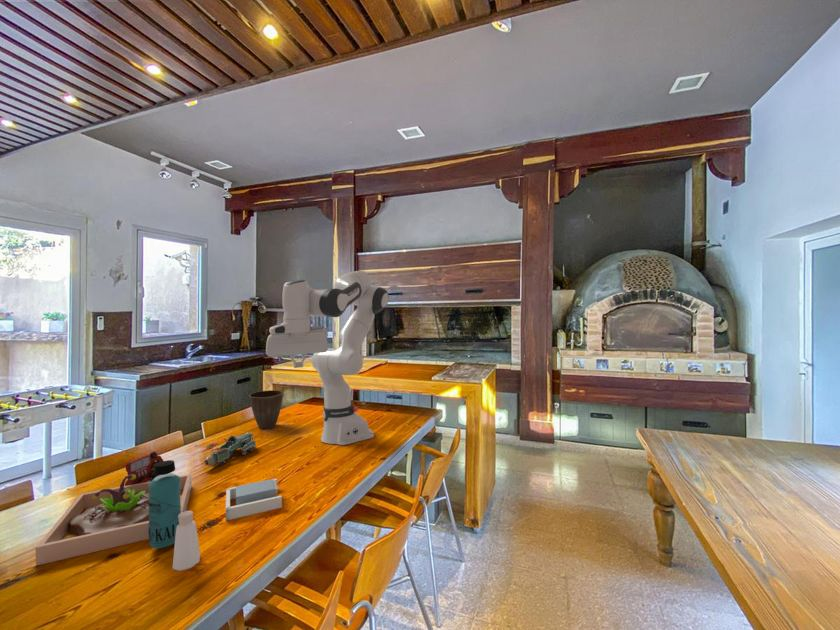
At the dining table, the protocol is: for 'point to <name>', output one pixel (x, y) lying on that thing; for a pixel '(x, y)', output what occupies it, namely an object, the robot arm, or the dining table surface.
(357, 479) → the dining table surface
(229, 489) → the bay
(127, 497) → the plant
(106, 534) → the planter tray
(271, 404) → the plant pot
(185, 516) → the pepper shaker
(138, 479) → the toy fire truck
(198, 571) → the dining table surface
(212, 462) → the hoverbike
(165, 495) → the beverage bottle
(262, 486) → the short grey brick
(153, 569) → the dining table surface
